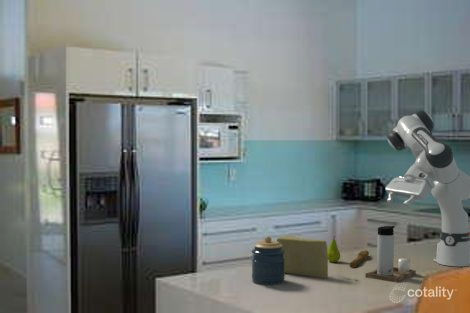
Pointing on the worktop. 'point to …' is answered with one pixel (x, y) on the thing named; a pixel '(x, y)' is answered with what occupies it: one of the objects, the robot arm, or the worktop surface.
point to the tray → (395, 277)
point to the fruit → (333, 252)
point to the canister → (268, 262)
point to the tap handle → (359, 258)
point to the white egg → (403, 266)
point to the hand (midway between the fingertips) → (397, 203)
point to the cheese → (305, 256)
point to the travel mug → (385, 251)
